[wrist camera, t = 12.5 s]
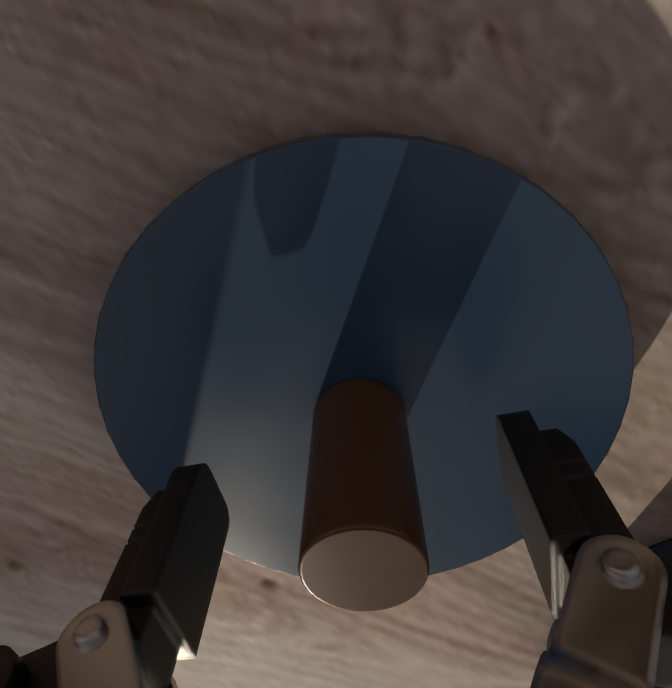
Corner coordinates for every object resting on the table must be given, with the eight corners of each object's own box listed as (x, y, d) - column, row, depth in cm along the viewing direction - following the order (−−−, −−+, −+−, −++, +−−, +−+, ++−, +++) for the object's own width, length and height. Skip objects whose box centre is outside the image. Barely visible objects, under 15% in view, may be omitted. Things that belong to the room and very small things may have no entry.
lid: (343, 604, 20) (341, 800, 15) (14, 376, 15) (-170, 549, 10) (703, 407, 15) (897, 597, 10) (389, -37, 10) (435, -148, 5)
